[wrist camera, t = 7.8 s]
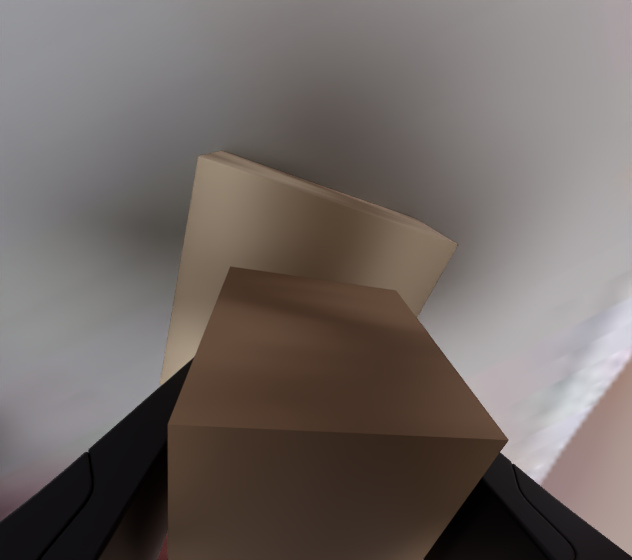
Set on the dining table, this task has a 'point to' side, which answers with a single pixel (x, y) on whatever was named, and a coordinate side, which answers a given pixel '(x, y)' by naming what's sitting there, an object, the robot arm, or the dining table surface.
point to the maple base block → (290, 243)
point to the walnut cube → (319, 428)
